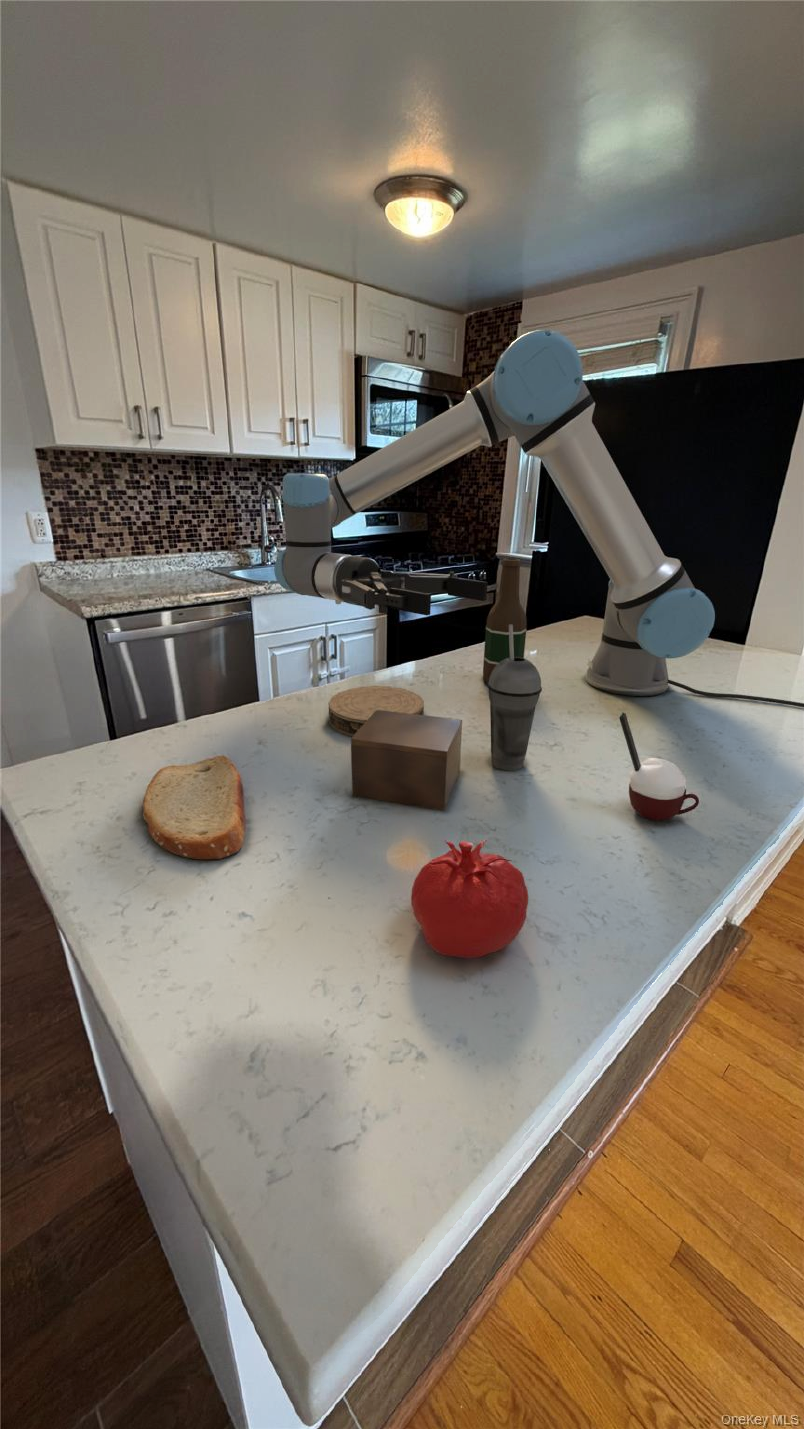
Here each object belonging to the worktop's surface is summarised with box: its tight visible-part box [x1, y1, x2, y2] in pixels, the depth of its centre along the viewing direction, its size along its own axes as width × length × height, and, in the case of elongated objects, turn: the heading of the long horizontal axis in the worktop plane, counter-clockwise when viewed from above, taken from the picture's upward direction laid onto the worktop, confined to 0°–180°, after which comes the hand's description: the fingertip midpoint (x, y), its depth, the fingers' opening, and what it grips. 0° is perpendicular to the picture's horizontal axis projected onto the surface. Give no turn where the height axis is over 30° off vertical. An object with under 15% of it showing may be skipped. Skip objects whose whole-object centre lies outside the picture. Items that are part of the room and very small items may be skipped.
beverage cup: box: [487, 625, 543, 771], centre depth 77 cm, size 7×7×20 cm
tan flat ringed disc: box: [327, 685, 425, 737], centre depth 95 cm, size 16×16×3 cm
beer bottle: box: [482, 557, 528, 684], centre depth 110 cm, size 8×8×24 cm
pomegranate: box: [410, 839, 529, 959], centre depth 49 cm, size 10×10×9 cm
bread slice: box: [142, 754, 246, 860], centre depth 68 cm, size 18×18×4 cm
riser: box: [350, 710, 463, 811], centre depth 73 cm, size 12×10×8 cm
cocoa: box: [618, 711, 700, 822], centre depth 67 cm, size 10×6×12 cm, turn 38°
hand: (459, 597), depth 78 cm, fingers open, 13 cm apart
